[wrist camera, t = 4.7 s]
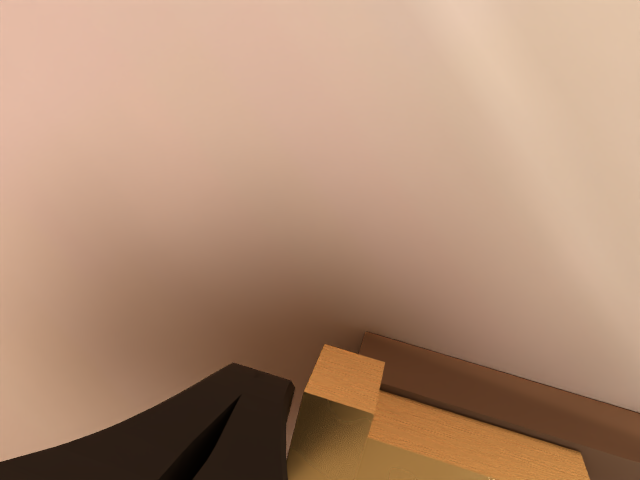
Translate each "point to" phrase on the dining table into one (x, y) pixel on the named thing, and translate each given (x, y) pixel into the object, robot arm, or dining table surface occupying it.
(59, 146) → the dining table surface
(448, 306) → the dining table surface
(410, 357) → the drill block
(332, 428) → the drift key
